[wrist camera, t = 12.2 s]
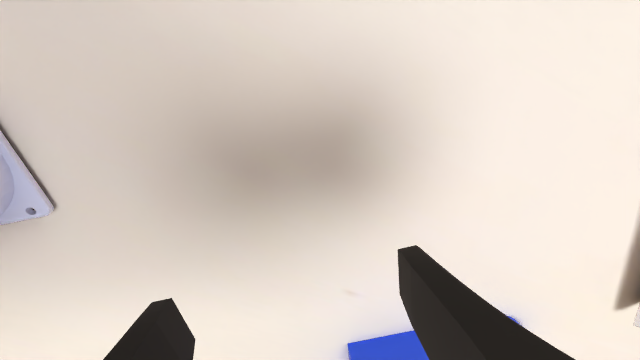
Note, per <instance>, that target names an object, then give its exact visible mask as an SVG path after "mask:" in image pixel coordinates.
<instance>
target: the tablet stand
mask: <svg viewBox="0 0 640 360" xmlns="http://www.w3.org/2000/svg"><path fill="white" fill-rule="evenodd" d="M633 325H634V326H637V327H640V304H639V308H638V311H637V314H636V317H635V321H634V324H633Z"/></svg>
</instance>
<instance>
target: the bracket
mask: <svg viewBox="0 0 640 360" xmlns="http://www.w3.org/2000/svg"><path fill="white" fill-rule="evenodd" d="M508 317H509V316H508ZM509 318H510V319H512V320H513V321H515V322H516V323H518V322H517V321H516V320H515V319H513V318H511V317H509ZM518 324H519V323H518ZM348 351H349V360H429V358H428V356H427V354H426V352H425V350H424V348H423V346H422V344H421V342H420V341H419V339H418V337H417V335H416V333H415V331H409V332H404V333H399V334H394V335H389V336H384V337H379V338H374V339H369V340H363V341H358V342H353V343H348Z"/></svg>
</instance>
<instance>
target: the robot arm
mask: <svg viewBox="0 0 640 360" xmlns="http://www.w3.org/2000/svg"><path fill="white" fill-rule="evenodd" d="M31 208H33V209H35V210H36V211H34V210H32V209H31ZM53 208H54V207H53V205H52V204H51V202H50V201H49V199H48V198H47V196H46V195H45V194H44V192H43V191H42V189H41V188H40V186H39V185H38V184H37V182H36V181H35V179H34V178H33V176H32V175H31V173H30V172H29V171H28V169H27V168H26V166H25V165H24V163H23V162H22V161H21V159H20V158H19V156H18V155H17V153H16V152H15V151H14V149H13V148H12V146H11V145H10V143H9V142H8V141H7V139H6V138H5V136H4V135H3V133H2V132H1V131H0V225H3V224H8V223H13V222H18V221H23V220H28V219H33V218H38V217H43V216H47V215H49V214H50V213H51V212H52V211H53ZM398 266H399V289H400V296H401V299H402V301H403V304H404V307H405V309H406V312H407V314H408V317H409V319H410V322H411V324H412V327H413V329H414V331H415V333H416V335H417V337H418V339H419V341H420V342H421V344H422V346H423V348H424V350H425V352H426V354H427V356H428V358H429V360H575V359H574V358H572V357H570V356H568V355H567V354H565V353H563V352H562V351H560V350H558V349H557V348H555V347H554V346H552V345H550V344H549V343H547V342H546V341H544V340H542V339H541V338H539V337H538V336H536V335H534V334H533V333H531V332H530V331H528V330H527V329H525V328H524V327H522V326H521V325H519V324H518V323H516V322H515V321H513V320H512V319H510V318H509V317H508V316H506V315H505V314H503V313H502V312H500V311H499V310H498V309H496V308H495V307H493V306H492V305H491V304H489V303H488V302H487V301H485V300H484V299H482V298H481V297H480V296H478V295H477V294H476V293H475V292H473V291H472V290H471V289H469V288H468V287H467V286H465V285H464V284H463V283H462V282H460V281H459V280H458V279H457V278H455V277H454V276H453V275H452V274H450V273H449V272H448V271H447V270H445V269H444V268H443V267H442V266H441V265H439V264H438V263H437V262H436V261H435V260H434V259H432V258H431V257H430V256H429V255H428V254H427V253H425V252H424V251H423V250H422V249H421V248H420V247H418V246H417V245H415V246H411V247H406V248H402V249H398ZM194 346H195V338H194V336H193V334H192V333H191V331H190V329H189V327H188V326H187V324H186V322H185V321H184V319H183V317H182V315H181V314H180V312H179V310H178V308H177V307H176V305H175V303H174V301H173V300H172V298H170V299H165V300H161V301H156V302H152V303H151V304H150V305H149V306H148V307H147V308H146V310H145V311H144V312H143V313H142V314H141V315H140V317H139V318H138V319H137V320H136V321H135V322H134V324H133V325H132V326H131V327H130V328H129V330H128V331H127V332H126V333H125V334H124V336H123V337H122V338H121V339H120V340H119V342H118V343H117V344H116V345H115V346H114V348H113V349H112V350H111V351H110V352H109V353H108V355H107V356H106V357H105V358H104V359H103V360H193V354H194Z"/></svg>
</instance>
